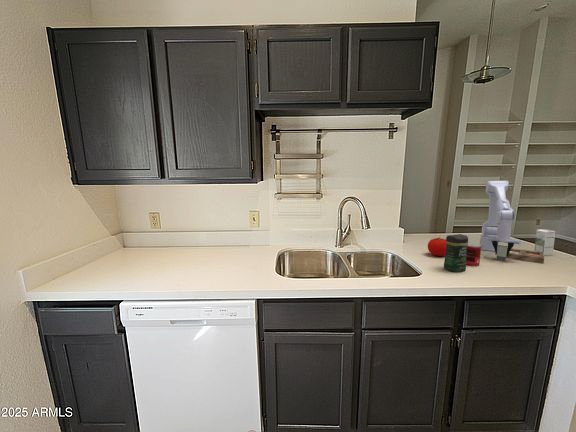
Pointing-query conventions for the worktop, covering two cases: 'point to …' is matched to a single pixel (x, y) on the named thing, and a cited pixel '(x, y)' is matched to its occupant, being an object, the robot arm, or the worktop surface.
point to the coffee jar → (456, 253)
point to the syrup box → (545, 241)
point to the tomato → (437, 246)
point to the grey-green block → (501, 253)
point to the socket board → (526, 255)
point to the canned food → (473, 254)
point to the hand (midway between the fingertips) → (501, 254)
